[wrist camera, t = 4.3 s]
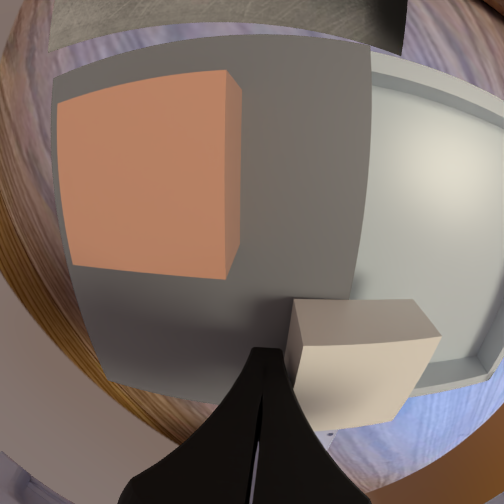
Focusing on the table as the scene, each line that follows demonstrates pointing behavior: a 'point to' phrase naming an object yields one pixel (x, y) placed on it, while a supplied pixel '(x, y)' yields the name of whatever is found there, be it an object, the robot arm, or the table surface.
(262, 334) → the board
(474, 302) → the tray
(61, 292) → the table surface
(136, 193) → the tile terracotta
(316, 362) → the tile white
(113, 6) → the meat cleaver
